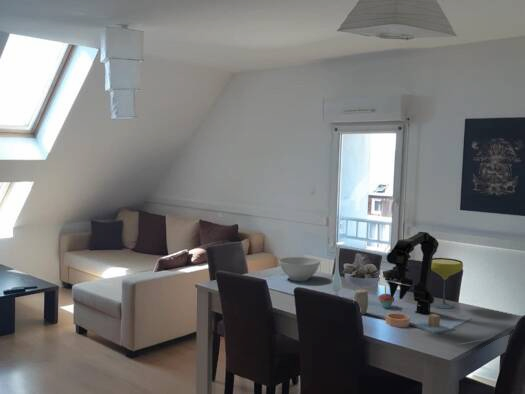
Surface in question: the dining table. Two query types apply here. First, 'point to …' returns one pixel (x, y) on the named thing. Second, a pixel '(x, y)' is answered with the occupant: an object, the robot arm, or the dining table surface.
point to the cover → (434, 324)
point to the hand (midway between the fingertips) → (396, 297)
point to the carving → (362, 299)
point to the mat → (434, 333)
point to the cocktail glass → (445, 274)
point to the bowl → (397, 320)
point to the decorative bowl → (299, 267)
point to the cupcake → (386, 300)
